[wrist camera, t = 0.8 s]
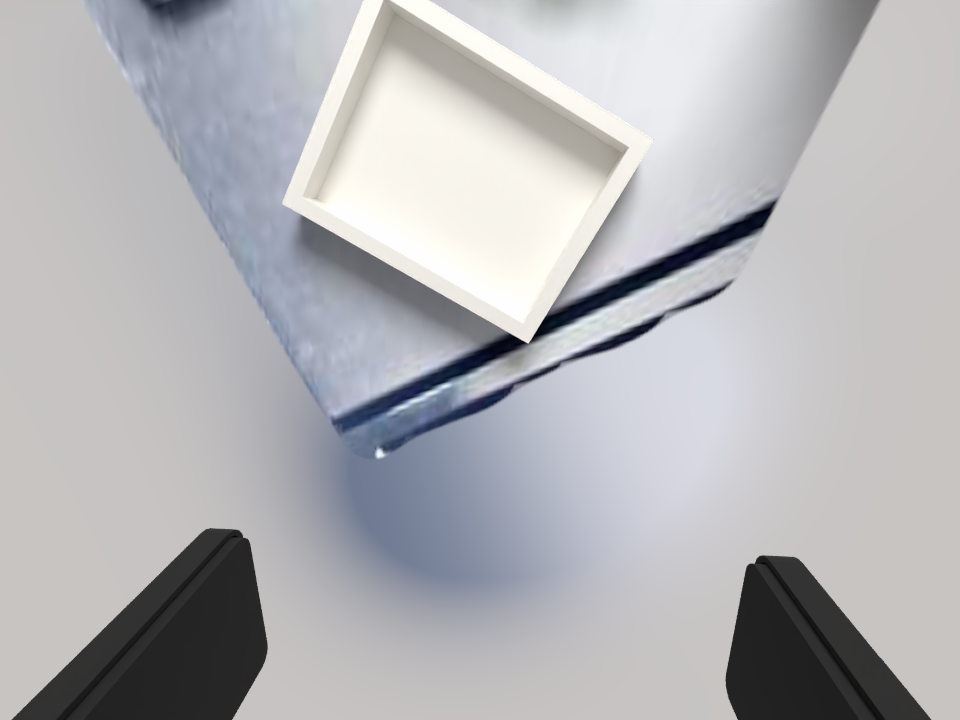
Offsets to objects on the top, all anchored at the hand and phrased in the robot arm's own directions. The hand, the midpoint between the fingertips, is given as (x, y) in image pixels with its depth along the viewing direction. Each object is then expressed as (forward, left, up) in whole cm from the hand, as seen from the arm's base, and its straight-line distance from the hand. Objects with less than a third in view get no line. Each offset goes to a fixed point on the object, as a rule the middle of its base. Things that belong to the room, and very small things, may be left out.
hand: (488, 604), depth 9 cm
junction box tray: (-7, -8, -26) cm, 28 cm away
